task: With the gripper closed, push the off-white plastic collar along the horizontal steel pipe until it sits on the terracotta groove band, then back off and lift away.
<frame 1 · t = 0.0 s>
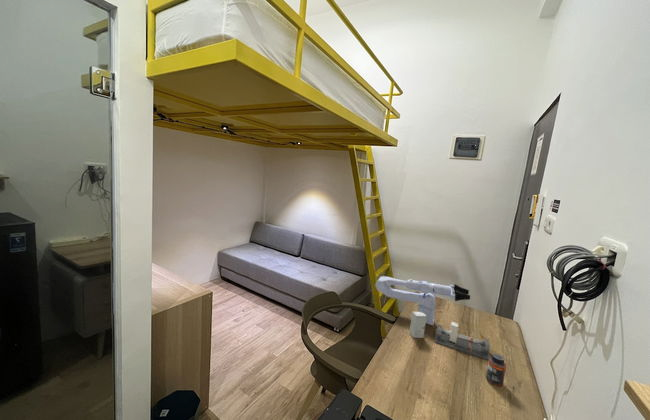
hand: (469, 294, 133), 22 cm above the table, tool horizontal, fingers open, 7 cm apart
collar: (453, 331, 124), point 5 cm above the table, slide at -4.0 cm
supplement bottle: (493, 381, 101), on the table
skincare box: (416, 335, 128), on the table
pipe rig: (460, 344, 123), on the table
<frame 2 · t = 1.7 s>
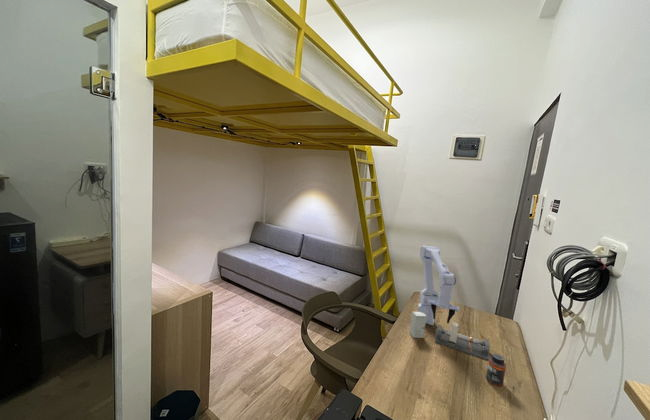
hand: (440, 320, 127), 9 cm above the table, tool pointing down, fingers open, 6 cm apart
nothing on the table moved.
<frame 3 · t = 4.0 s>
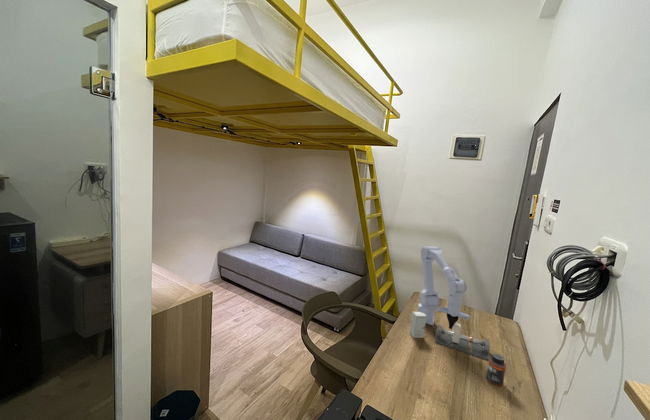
hand: (450, 328, 125), 7 cm above the table, tool pointing down, fingers closed
collar: (456, 332, 124), point 5 cm above the table, slide at -2.8 cm, touching gripper
everything else where it was.
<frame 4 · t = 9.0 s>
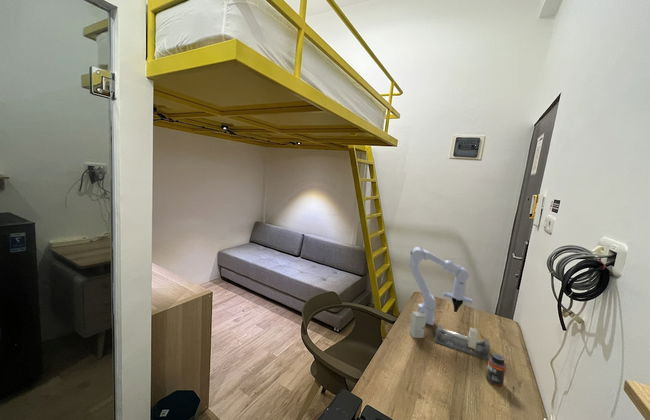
hand: (455, 311, 138), 9 cm above the table, tool pointing down, fingers closed
collar: (472, 337, 121), point 5 cm above the table, slide at 4.4 cm
everything else where it was.
at the end: collar slide at 4.4 cm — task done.
